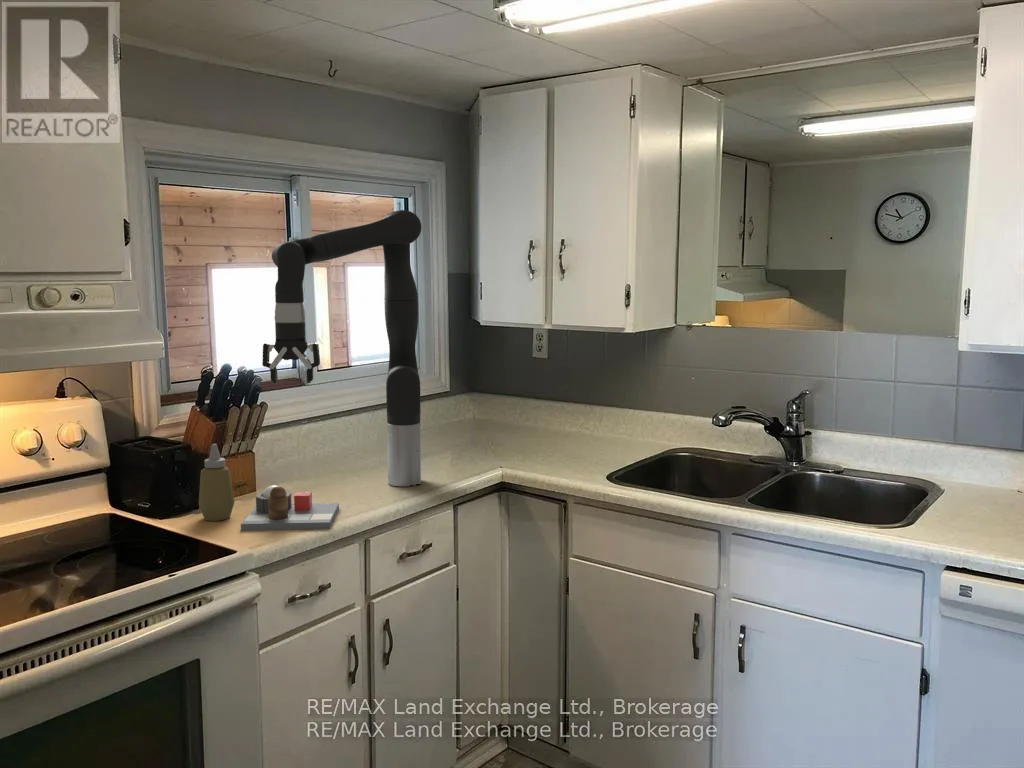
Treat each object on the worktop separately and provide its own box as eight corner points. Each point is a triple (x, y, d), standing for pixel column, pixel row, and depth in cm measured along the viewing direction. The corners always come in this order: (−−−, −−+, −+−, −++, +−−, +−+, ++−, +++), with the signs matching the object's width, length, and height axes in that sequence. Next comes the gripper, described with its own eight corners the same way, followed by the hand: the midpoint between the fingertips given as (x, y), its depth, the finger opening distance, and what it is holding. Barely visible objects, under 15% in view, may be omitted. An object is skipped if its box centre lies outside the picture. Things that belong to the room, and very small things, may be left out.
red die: (312, 506, 200) (311, 491, 199) (309, 510, 196) (309, 495, 196) (297, 506, 199) (296, 491, 199) (294, 510, 196) (294, 495, 195)
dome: (286, 502, 200) (285, 482, 199) (282, 508, 195) (281, 487, 194) (265, 502, 199) (265, 483, 199) (261, 508, 194) (260, 488, 194)
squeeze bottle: (204, 525, 189) (201, 449, 186) (195, 516, 195) (191, 443, 193) (239, 519, 193) (236, 445, 191) (229, 511, 200) (226, 439, 198)
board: (338, 508, 202) (338, 489, 202) (329, 528, 187) (329, 507, 186) (257, 510, 201) (256, 490, 200) (241, 530, 185) (240, 509, 184)
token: (289, 514, 192) (289, 484, 191) (286, 520, 188) (286, 489, 187) (270, 514, 192) (269, 484, 191) (267, 520, 187) (266, 489, 186)
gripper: (320, 319, 212) (322, 381, 215) (265, 319, 211) (267, 381, 213) (316, 321, 205) (317, 384, 207) (258, 321, 204) (260, 385, 206)
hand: (292, 383), depth 210 cm, fingers open, 8 cm apart
